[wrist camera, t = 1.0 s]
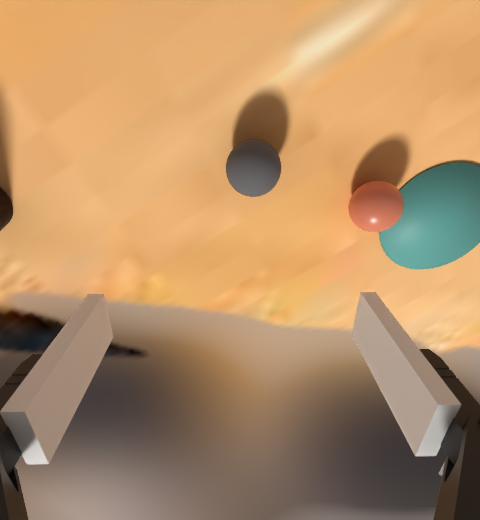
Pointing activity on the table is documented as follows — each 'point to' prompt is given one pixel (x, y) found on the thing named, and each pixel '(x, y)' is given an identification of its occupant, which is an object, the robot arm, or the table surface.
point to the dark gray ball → (253, 168)
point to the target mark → (436, 217)
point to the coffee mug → (5, 209)
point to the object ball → (376, 206)
